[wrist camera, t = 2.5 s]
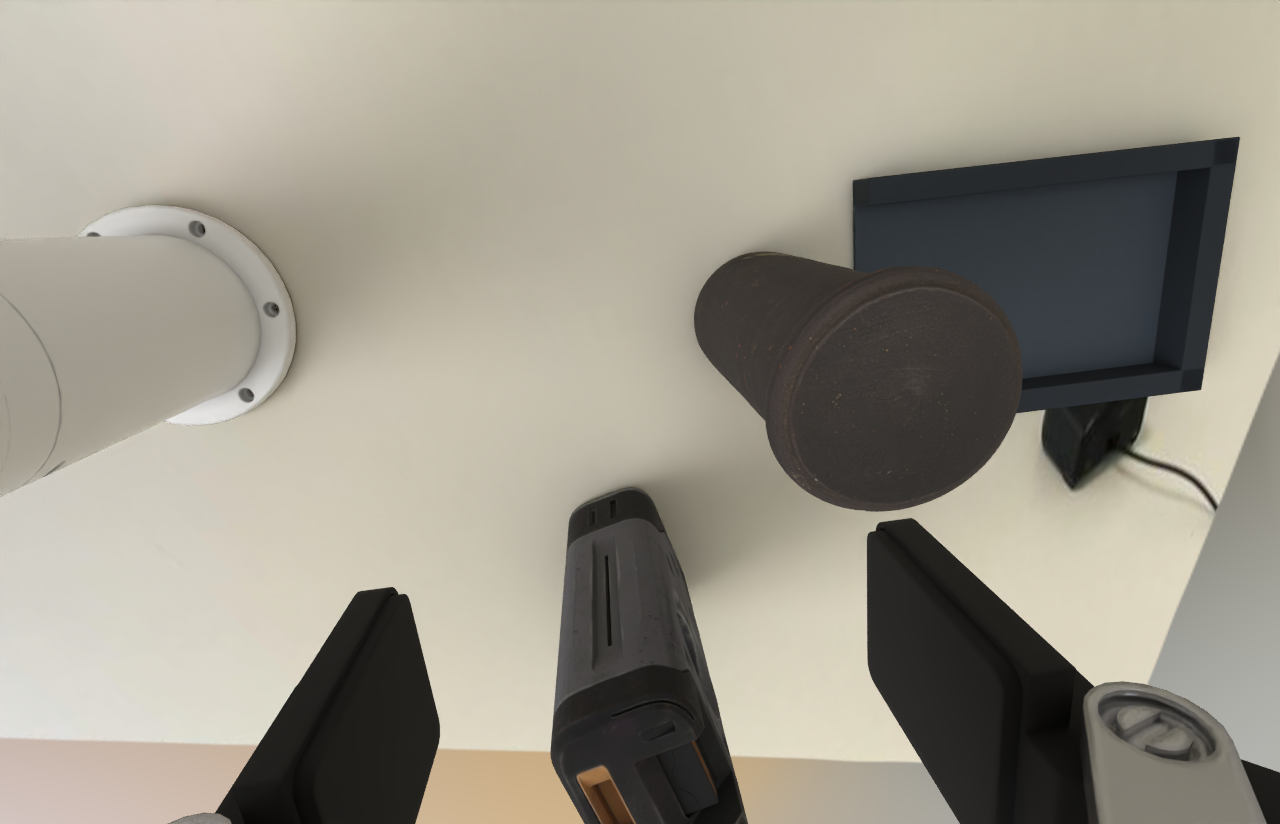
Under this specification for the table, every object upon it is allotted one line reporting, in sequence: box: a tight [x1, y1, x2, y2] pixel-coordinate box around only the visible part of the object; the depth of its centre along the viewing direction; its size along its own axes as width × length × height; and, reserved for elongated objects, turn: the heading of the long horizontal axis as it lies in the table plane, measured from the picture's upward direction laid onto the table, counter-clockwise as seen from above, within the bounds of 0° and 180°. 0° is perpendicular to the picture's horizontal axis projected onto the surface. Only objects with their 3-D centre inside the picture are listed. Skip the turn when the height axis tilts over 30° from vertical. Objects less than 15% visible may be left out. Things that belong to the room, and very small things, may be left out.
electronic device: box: [551, 488, 748, 824], centre depth 34 cm, size 9×6×20 cm, turn 22°
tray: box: [853, 137, 1240, 413], centre depth 39 cm, size 22×15×2 cm
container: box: [694, 252, 1023, 512], centre depth 30 cm, size 9×9×20 cm
